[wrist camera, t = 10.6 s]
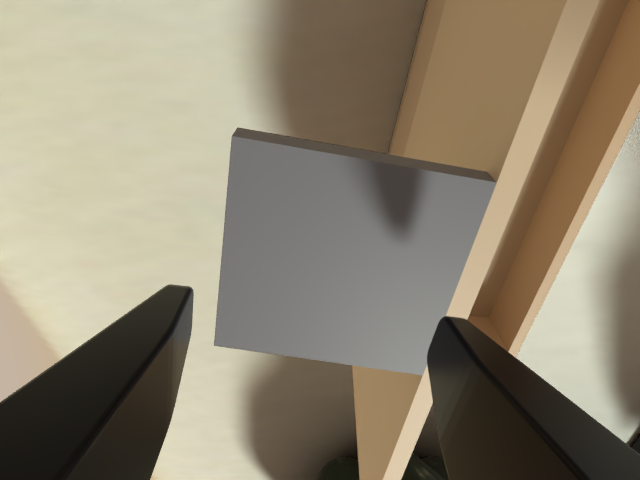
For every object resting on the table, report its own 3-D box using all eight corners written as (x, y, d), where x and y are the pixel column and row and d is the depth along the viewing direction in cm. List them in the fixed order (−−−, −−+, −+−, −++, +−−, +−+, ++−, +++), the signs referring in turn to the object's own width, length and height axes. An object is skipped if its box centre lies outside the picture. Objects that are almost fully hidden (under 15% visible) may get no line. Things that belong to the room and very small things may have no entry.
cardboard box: (491, 321, 25) (514, 360, 22) (349, 304, 24) (355, 343, 22) (663, -65, 17) (732, -75, 14) (456, -115, 16) (488, -135, 13)
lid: (378, 533, 14) (199, 512, 14) (361, 350, 21) (243, 333, 21) (730, -315, 6) (280, -434, 5) (502, -140, 13) (307, -184, 12)
